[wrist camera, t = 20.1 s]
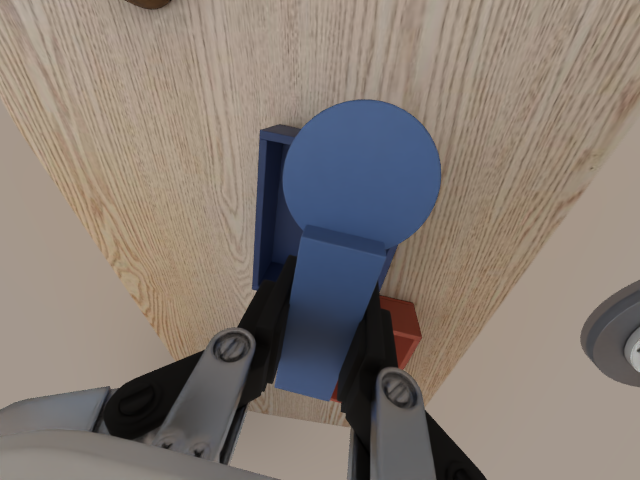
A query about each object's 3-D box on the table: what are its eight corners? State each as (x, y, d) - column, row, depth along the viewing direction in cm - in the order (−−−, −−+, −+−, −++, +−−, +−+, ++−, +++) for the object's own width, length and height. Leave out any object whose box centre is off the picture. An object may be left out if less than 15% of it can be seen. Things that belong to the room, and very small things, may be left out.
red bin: (376, 376, 37) (378, 412, 33) (297, 357, 38) (288, 390, 33) (413, 302, 30) (422, 337, 25) (313, 279, 30) (305, 309, 26)
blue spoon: (352, 349, 13) (350, 407, 10) (273, 330, 13) (253, 382, 11) (447, 116, 7) (489, 124, 5) (308, 85, 7) (283, 78, 5)
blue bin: (368, 285, 29) (369, 317, 25) (267, 262, 30) (251, 289, 25) (415, 152, 22) (429, 165, 17) (279, 124, 22) (259, 129, 18)
